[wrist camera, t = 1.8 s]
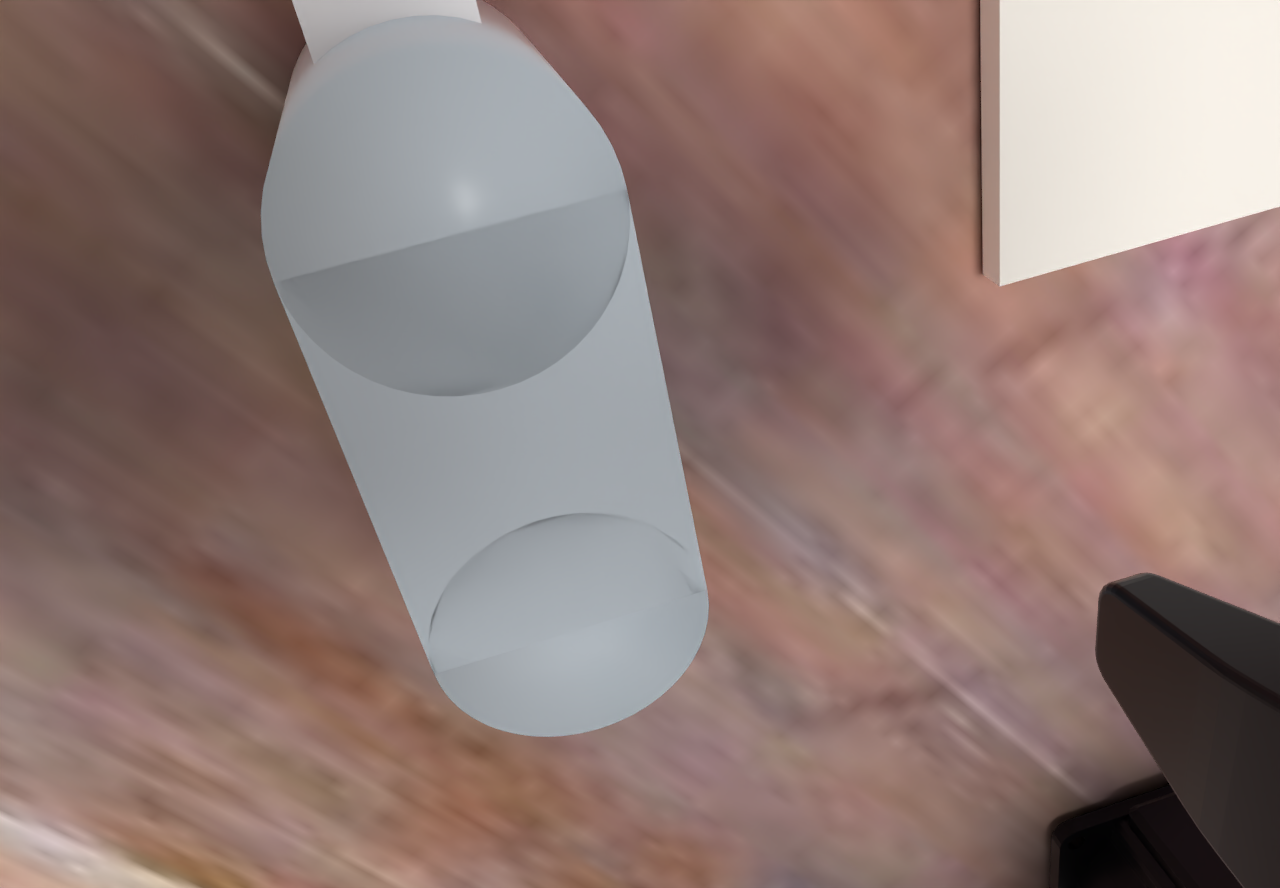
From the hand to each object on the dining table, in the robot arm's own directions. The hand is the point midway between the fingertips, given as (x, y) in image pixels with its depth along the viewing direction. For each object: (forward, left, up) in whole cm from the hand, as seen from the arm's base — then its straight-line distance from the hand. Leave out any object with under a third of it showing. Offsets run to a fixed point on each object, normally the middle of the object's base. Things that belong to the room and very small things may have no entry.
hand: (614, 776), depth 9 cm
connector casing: (+1, 0, -10) cm, 10 cm away
